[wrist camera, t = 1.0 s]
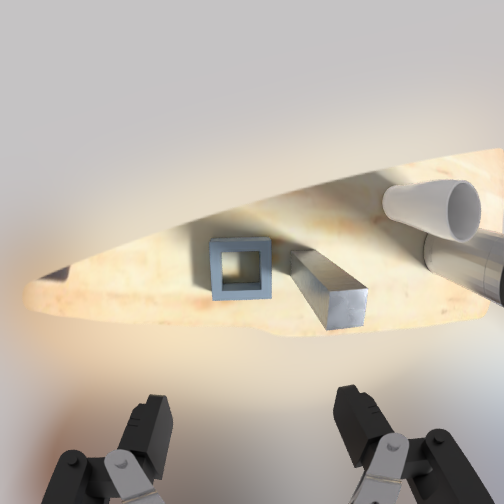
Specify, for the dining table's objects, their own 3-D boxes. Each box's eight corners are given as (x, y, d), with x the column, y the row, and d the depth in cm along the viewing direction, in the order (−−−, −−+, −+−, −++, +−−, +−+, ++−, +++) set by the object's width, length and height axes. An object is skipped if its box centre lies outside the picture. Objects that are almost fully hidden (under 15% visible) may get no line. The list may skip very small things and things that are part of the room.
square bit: (315, 250, 37) (368, 288, 21) (314, 274, 37) (363, 325, 22) (290, 250, 36) (329, 291, 21) (290, 275, 37) (326, 330, 21)
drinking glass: (374, 181, 35) (443, 179, 20) (410, 179, 35) (480, 179, 21) (378, 228, 36) (445, 247, 22) (413, 223, 37) (481, 239, 22)
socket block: (268, 236, 36) (271, 240, 33) (268, 290, 37) (271, 298, 34) (211, 238, 35) (209, 242, 32) (214, 292, 37) (212, 300, 34)
